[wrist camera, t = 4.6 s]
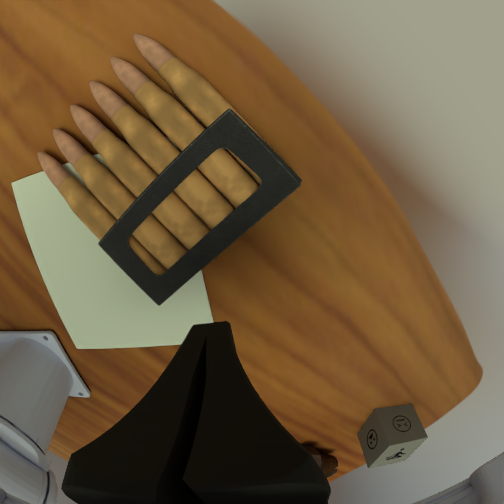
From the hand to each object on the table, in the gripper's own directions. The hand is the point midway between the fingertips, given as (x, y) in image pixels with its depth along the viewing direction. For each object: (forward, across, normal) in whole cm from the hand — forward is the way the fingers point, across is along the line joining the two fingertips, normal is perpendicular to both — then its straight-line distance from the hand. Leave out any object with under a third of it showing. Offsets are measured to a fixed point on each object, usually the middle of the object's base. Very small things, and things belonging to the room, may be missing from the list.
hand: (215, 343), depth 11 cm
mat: (+8, +8, 0) cm, 11 cm away
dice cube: (+9, -14, +23) cm, 28 cm away
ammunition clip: (+7, 0, -1) cm, 7 cm away
